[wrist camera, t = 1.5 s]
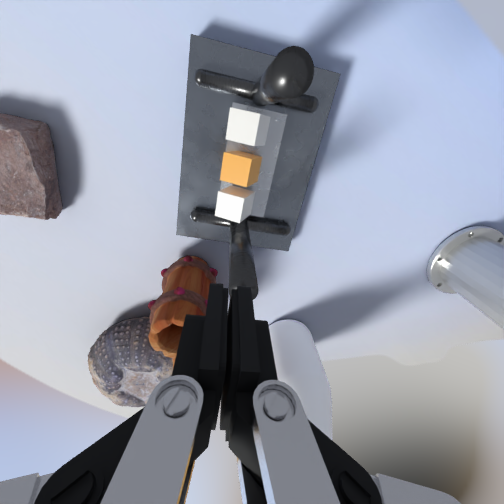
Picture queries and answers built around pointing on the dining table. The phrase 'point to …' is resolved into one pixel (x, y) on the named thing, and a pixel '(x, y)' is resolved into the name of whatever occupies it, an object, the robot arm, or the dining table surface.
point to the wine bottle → (302, 371)
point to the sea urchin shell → (128, 363)
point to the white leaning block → (234, 203)
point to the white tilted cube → (247, 127)
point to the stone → (27, 169)
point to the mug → (179, 302)
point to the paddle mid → (240, 168)
